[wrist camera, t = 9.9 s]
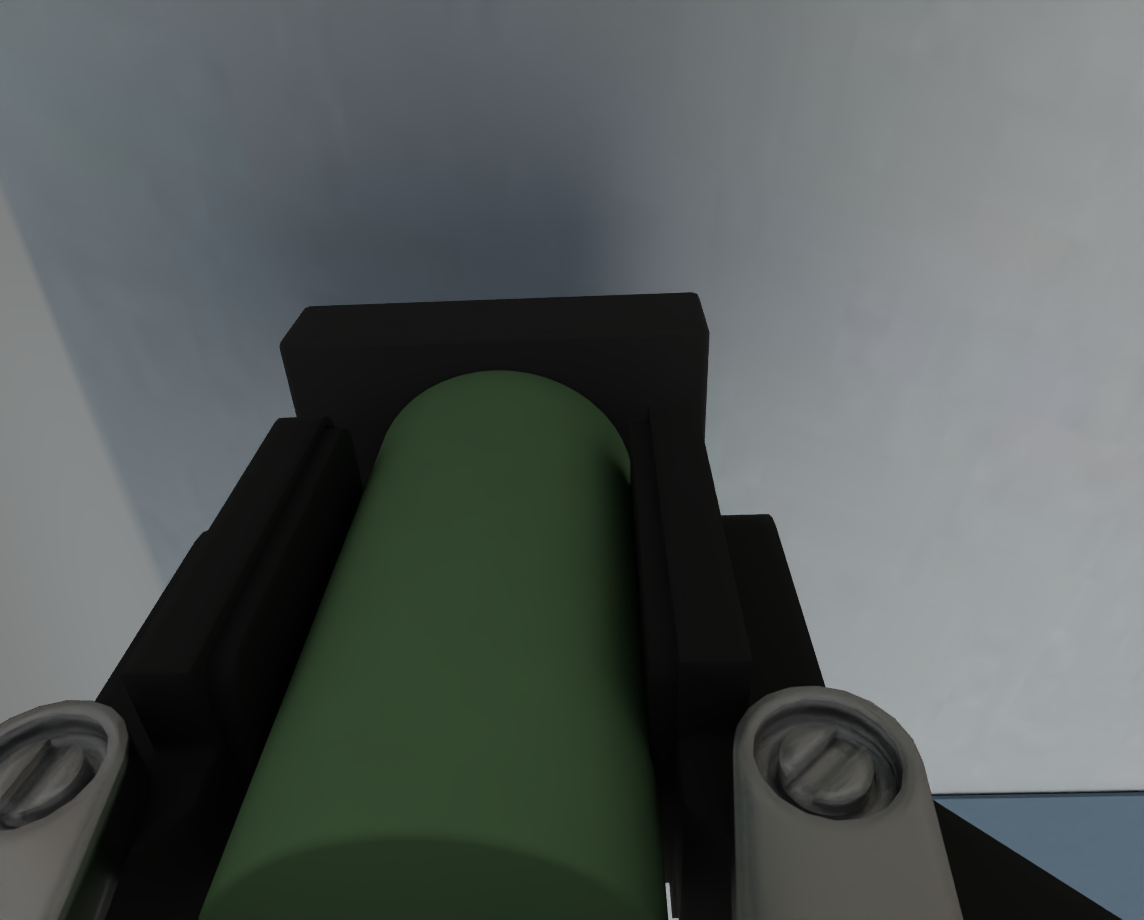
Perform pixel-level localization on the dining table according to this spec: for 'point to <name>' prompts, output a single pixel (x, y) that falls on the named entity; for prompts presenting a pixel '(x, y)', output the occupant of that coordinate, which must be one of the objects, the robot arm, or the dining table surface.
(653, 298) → the stamp
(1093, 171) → the dining table surface
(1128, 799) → the napkin
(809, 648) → the robot arm
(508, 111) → the dining table surface
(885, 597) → the dining table surface
